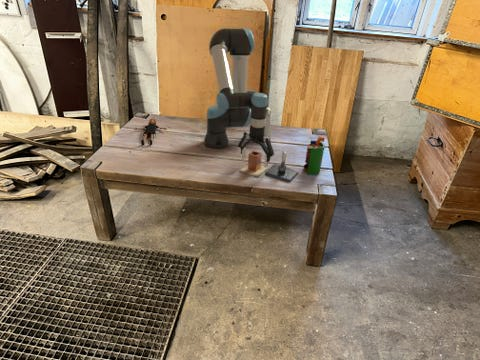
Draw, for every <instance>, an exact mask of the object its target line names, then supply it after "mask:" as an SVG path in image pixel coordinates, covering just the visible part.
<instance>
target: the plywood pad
mask: <svg viewBox="0 0 480 360" xmlns="http://www.w3.org/2000/svg"><path fill="white" fill-rule="evenodd" d="M268 169H269V167H268V166H267V167H266V168H264V165H262V164H261V166H260V169H259V170H257V171H256V172H255V171H252V170H249V169H248V163H247V164H246V165H244V166H243V167H242V168H240V170H239V172H241V173H244V174H247V175H250V176H252V177H255V178H260V177H261V176H262V175H263V174H265V172H266V171H267V170H268Z"/></svg>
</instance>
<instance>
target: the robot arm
mask: <svg viewBox="0 0 480 360" xmlns="http://www.w3.org/2000/svg"><path fill="white" fill-rule="evenodd" d="M208 48H209V55H210V56H211V57H212V59H213V60H212V61H213V65H214V70H215V72H214V73H215V77H216V81H217V87H218V92H219V93H217V94H216V99H215V100H216V104H214V105H211V106H209V107H208V108H207V111H206V134H205V136H204V138H203V139H204V142H203V144H204V146H205V147H207V148H208V149H214V150H215V149H216V150H217V149H218V150H221V149H224V148H227V147H228V146H229V145H230V141H229V137H228V133H227V128H228V129H229V128H243V127H244V128H245V127H246V128H247V127H248V126H249V131H248V130H246V131H244V132H243V135H242V137H241V139H240V141H239V142H238V144H237V147H238V148H240V155H241V161H242V162H243V161H245V160H246V153H247V148H246V147H247V146H248V145H249V144H251V142H252V143H254V144H257V145H259V146H260V147H261V149H262V151H263V152H264V154H265V157H264V165H263V166H264V168H266V167H268V166H269V162H271V158H272V157H273V156H274V155H275V151H274V148H273V146H272V143H271V142H270V137H265V136H266V135H264V133H265V122H266V113H267V110H268V109H267V107H268V102H269V101H268V95H267V94H266V93H263V92H256V91H254V90H252V89H250V90H248V62H249V61H248V59H249V58H250V57H251V53H252V52H254V50H255V38H254V34H253V32H252V30H250V29H247V28H221V29H218V30H217V31H215V33H214V34H213V35H212V37H211V39H210V41H209V46H208ZM228 53H229V57H231V59H232V64H231V65H232V67H231V68H230V63H229V57H228ZM231 69H232V71H231ZM248 137H249V139H248V140H247V141H246V142H245V140H246V139H247V138H248ZM264 140H265V141H264Z"/></svg>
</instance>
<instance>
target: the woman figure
mask: <svg viewBox="0 0 480 360" xmlns="http://www.w3.org/2000/svg"><path fill="white" fill-rule="evenodd" d="M155 127H156V128H155ZM143 128H146V129H143ZM157 128H160V129H159V130H161V129H163V130H165V131H167V127H160V126H158V125H157V120H156V119H155V118H150V119H149V120H148V122H147V125H145V126H144V127H134V129H133V130H134V131H137V130H139V129H143V130H144V131H143V135H142V139H141V140H140V143H141V145H142V146H143V145H144V146H145V144H146V141H147V137H148V135H149V133H151V134H150V139H149V140H148V141H149V146H150V145H152V146H153V142H154V134H155V135H157V134H156V132H157V131H156V129H157ZM144 134H145V135H144ZM143 136H144V138H143Z"/></svg>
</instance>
